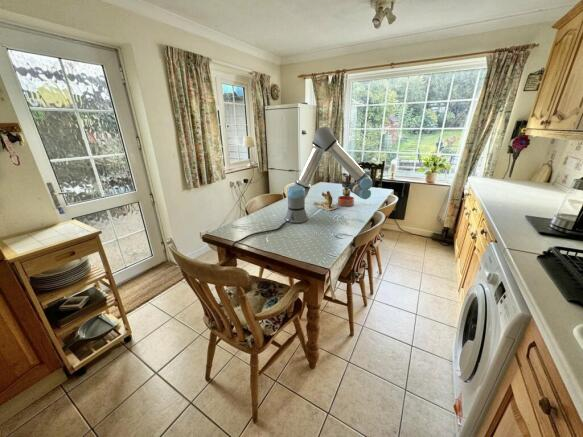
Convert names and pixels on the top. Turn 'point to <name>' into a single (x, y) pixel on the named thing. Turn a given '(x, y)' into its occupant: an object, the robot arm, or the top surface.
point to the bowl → (345, 200)
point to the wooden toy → (326, 202)
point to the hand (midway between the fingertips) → (344, 182)
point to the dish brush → (346, 191)
